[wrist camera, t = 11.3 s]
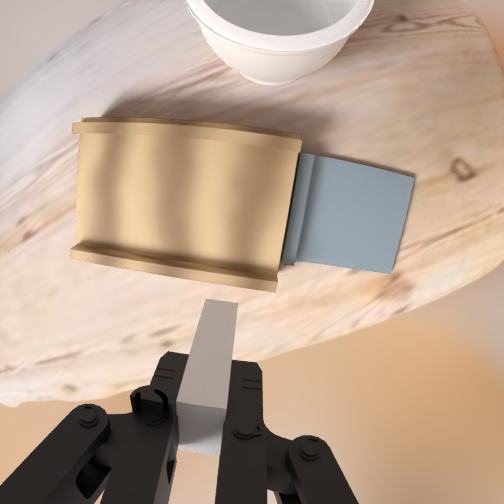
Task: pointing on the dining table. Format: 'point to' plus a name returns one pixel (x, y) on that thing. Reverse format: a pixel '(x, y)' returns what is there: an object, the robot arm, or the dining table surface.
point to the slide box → (184, 198)
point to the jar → (278, 34)
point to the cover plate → (345, 214)
